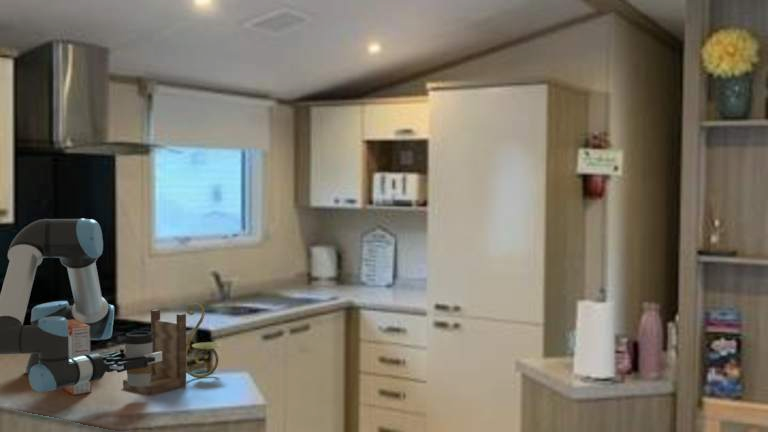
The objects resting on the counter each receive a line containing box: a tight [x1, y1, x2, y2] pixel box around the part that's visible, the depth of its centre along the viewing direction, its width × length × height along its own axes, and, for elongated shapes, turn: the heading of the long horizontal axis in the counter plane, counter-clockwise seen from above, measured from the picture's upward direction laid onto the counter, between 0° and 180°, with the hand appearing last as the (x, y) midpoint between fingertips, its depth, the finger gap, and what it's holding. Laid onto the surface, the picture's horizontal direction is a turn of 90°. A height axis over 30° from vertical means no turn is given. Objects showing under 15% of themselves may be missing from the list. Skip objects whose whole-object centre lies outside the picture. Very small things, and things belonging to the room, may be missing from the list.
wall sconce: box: [186, 302, 222, 379], centre depth 275 cm, size 14×10×25 cm
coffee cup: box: [123, 330, 154, 386], centre depth 247 cm, size 8×8×15 cm
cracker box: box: [62, 319, 92, 396], centre depth 258 cm, size 14×6×21 cm, turn 38°
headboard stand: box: [122, 309, 187, 396], centre depth 262 cm, size 14×13×23 cm
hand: (152, 354), depth 251 cm, fingers closed on coffee cup, 7 cm apart
